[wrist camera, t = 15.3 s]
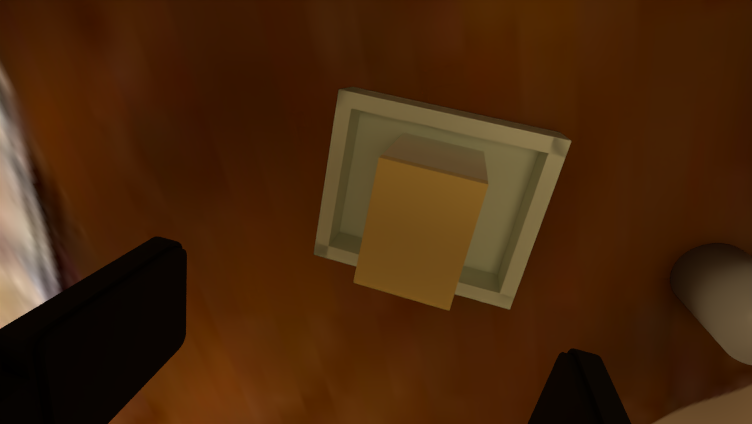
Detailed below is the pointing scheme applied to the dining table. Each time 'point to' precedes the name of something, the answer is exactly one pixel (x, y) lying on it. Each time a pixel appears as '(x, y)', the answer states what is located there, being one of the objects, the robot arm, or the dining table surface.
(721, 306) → the grey cap
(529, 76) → the dining table surface
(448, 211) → the block
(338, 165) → the parts tray
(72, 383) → the robot arm
